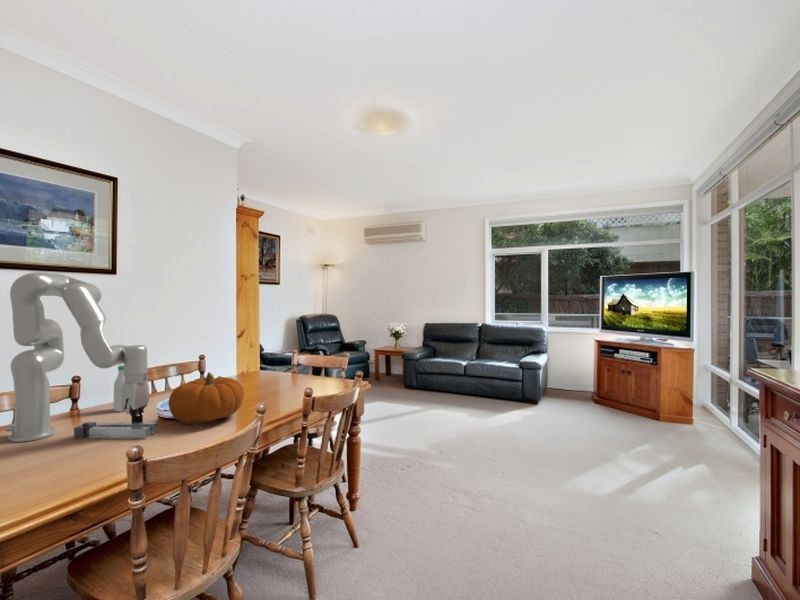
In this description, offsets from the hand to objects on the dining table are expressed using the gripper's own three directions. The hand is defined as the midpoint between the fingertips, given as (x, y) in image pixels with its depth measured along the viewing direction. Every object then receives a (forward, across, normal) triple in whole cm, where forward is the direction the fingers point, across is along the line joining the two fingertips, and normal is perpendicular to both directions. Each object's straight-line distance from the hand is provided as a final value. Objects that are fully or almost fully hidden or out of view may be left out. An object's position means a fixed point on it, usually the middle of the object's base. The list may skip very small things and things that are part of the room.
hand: (137, 425), depth 153 cm
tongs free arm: (+2, +3, -2) cm, 4 cm away
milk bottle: (+2, -28, -24) cm, 36 cm away
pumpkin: (+3, -14, +20) cm, 25 cm away
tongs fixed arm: (+2, +6, -4) cm, 7 cm away
